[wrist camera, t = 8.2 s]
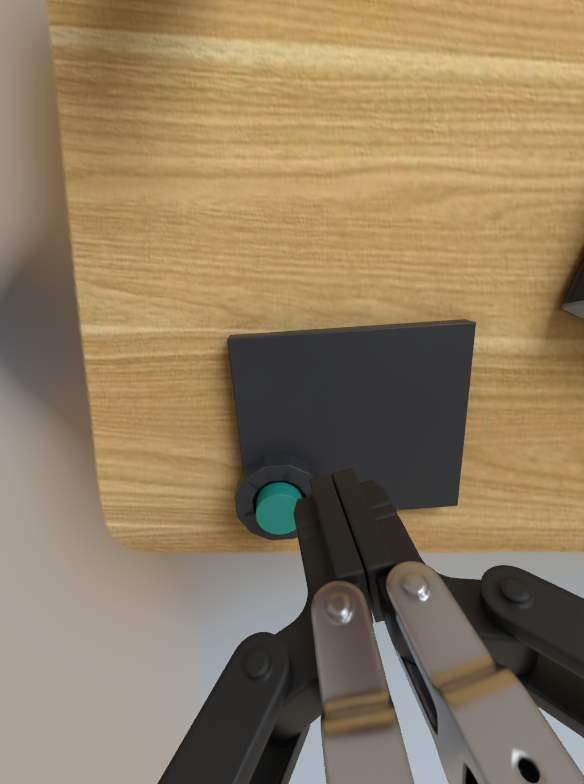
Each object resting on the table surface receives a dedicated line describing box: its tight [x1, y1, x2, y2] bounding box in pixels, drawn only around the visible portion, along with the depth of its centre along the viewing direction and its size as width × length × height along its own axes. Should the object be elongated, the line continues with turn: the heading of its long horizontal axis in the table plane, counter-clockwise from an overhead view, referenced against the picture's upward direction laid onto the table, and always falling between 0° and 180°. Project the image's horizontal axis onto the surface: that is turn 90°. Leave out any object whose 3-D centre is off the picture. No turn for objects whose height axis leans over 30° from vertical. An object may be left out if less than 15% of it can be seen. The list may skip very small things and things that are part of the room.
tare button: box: [256, 482, 302, 535], centre depth 25 cm, size 3×3×2 cm
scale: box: [228, 319, 476, 540], centre depth 25 cm, size 17×14×3 cm
